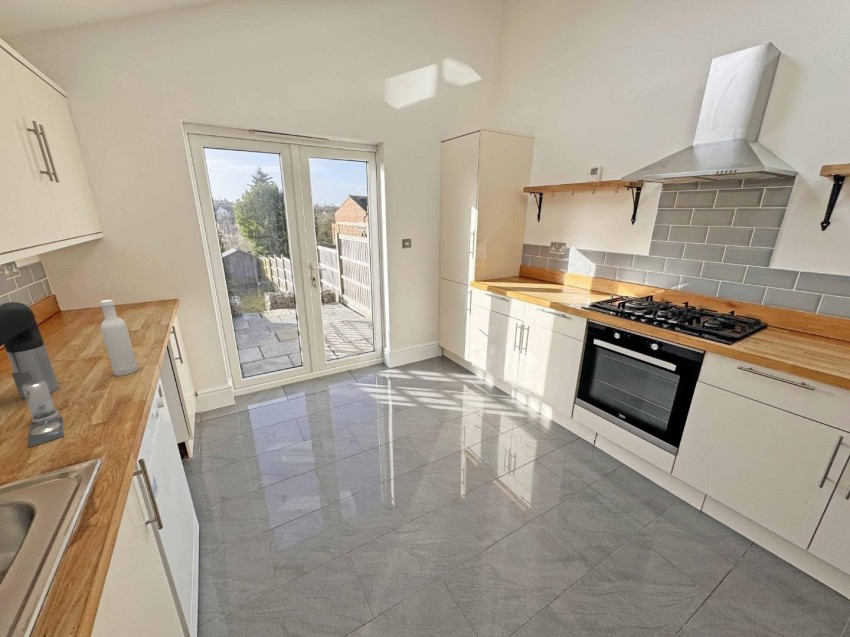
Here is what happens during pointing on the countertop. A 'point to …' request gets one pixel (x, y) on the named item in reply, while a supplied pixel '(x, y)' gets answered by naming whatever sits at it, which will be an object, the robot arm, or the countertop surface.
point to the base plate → (46, 431)
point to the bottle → (117, 341)
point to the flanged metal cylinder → (39, 401)
